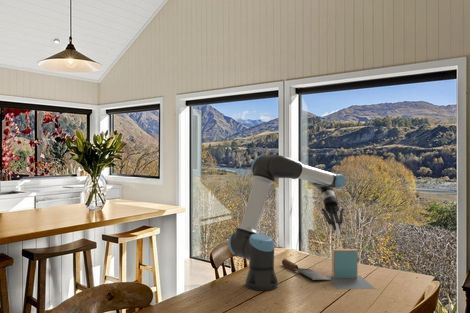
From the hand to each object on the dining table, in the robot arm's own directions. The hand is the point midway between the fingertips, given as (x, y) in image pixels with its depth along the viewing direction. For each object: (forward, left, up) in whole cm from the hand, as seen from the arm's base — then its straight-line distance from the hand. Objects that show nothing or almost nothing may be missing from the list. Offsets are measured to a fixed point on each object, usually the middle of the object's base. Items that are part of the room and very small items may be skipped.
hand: (338, 234), depth 209 cm
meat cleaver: (-19, -3, -19) cm, 27 cm away
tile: (-1, -13, -19) cm, 23 cm away
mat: (-1, -20, -19) cm, 28 cm away
